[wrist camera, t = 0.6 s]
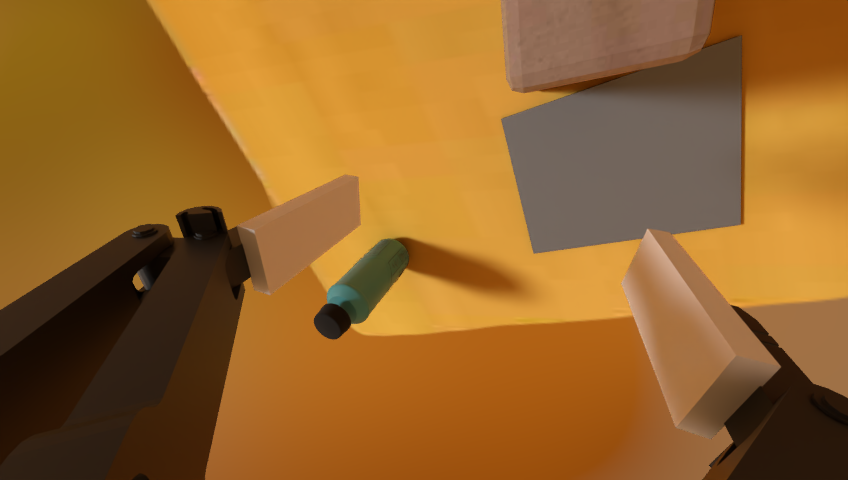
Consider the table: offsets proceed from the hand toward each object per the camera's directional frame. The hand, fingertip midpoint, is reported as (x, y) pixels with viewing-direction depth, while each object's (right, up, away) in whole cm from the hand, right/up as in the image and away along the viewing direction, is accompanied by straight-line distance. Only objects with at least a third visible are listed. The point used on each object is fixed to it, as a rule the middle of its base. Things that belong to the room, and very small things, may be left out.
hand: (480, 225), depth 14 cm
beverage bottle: (-7, -2, +38) cm, 39 cm away
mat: (+20, +8, +21) cm, 30 cm away
